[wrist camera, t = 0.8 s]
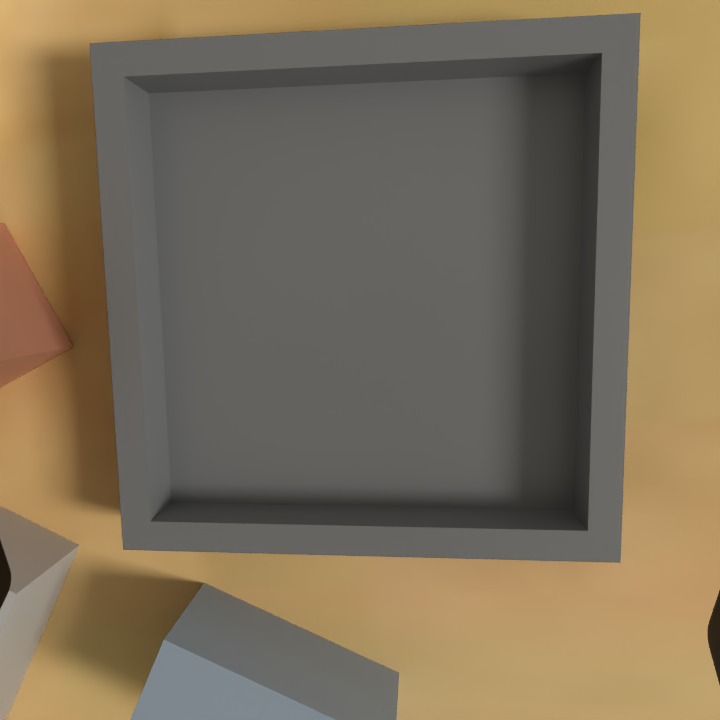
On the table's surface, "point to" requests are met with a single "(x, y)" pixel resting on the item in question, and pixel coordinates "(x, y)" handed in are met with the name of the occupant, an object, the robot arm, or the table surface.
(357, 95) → the tray
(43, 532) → the grey brick
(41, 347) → the column
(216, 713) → the slate brick
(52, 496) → the table surface
